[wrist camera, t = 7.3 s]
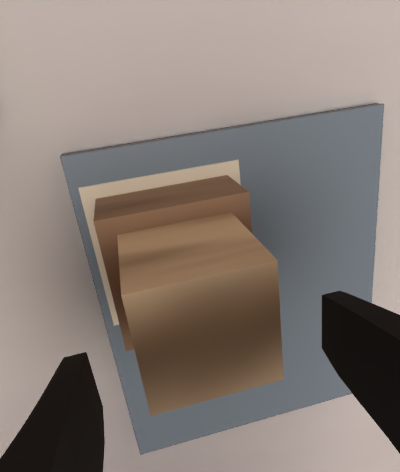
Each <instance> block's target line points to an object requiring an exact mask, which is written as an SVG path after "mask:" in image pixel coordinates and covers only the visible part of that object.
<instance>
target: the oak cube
mask: <svg viewBox="0 0 400 472" xmlns="http://www.w3.org/2000/svg"><path fill="white" fill-rule="evenodd" d="M117 240H118V255H119V270H120V285H121V297H122V301H123V305H124V309H125V313H126V317H127V321H128V325H129V329H130V333H131V338H132V342H133V346H134V350H135V354H136V358H137V362H138V366H139V370H140V374H141V379H142V383H143V387H144V391H145V395H146V399H147V403H148V407H149V411H150V415H151V416H153V415H157V414H161V413H164V412H168V411H171V410H175V409H179V408H182V407H186V406H190V405H193V404H197V403H200V402H204V401H208V400H211V399H215V398H218V397H222V396H226V395H229V394H233V393H237V392H240V391H244V390H247V389H251V388H255V387H258V386H262V385H265V384H269V383H273V382H276V381H280V380H284V375H283V356H282V337H281V318H280V298H279V279H278V260H277V259H276V258H275V257H274V256H273V255H272V254H271V253H270V252H269V251H268V250H267V249H266V248H265V247H264V246H263V245H262V243H261V242H260V241H259V240H258V239H257V238H256V237H255V236H254V235H253V234H252V233H251V232H250V231H249V230H248V229H247V228H246V227H245V226H244V225H243V224H242V223H241V222H240V220H239V219H238V218H237V217H236V216H235V215H234V214H233V213H232V212H230V213H225V214H220V215H215V216H210V217H205V218H200V219H195V220H190V221H185V222H180V223H175V224H170V225H165V226H160V227H155V228H150V229H145V230H140V231H135V232H130V233H125V234H120V235H117Z"/></svg>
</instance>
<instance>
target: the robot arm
mask: <svg viewBox="0 0 400 472" xmlns="http://www.w3.org/2000/svg"><path fill="white" fill-rule="evenodd" d="M322 349H323V351H324V353H325V354H326V356H327V358H328V359H329V361H330V363H331V364H332V366H333V368H334V369H335V371H336V372H337V374H338V376H339V377H340V378H341V380H342V381H343V382H344V383H345V385H346V386H347V387H348V388H349V390H350V391H351V392H352V394H353V395H354V396H355V397H356V399H357V400H358V401H359V402H360V404H361V405H362V406H363V407H364V409H365V410H366V411H367V412H368V413H369V415H370V416H371V417H372V418H373V420H374V421H375V422H376V423H377V425H378V426H379V427H380V428H381V430H382V431H383V432H384V433H385V435H386V436H387V437H388V438H389V440H390V441H391V442H392V444H393V445H394V446H395V448H396V449H397V450H398V452H399V453H400V315H398V314H396V313H393V312H391V311H389V310H386V309H384V308H382V307H379V306H377V305H375V304H372V303H370V302H368V301H365V300H363V299H360V298H358V297H356V296H353V295H351V294H348V293H345V292H342V291H336V292H332V293H328V294H324V295H322ZM104 442H105V441H104V421H103V406H102V403H101V399H100V396H99V393H98V389H97V386H96V383H95V379H94V376H93V373H92V370H91V366H90V363H89V360H88V356H87V353H86V352H85V353H81V354H77V355H73V356H69V357H64V359H63V360H62V361H61V363H60V365H59V366H58V368H57V370H56V372H55V374H54V375H53V377H52V379H51V381H50V382H49V384H48V386H47V388H46V389H45V391H44V393H43V394H42V396H41V398H40V399H39V401H38V403H37V404H36V406H35V408H34V409H33V411H32V412H31V414H30V416H29V417H28V419H27V420H26V422H25V424H24V425H23V427H22V428H21V430H20V431H19V433H18V434H17V435H16V437H15V438H14V440H13V441H12V443H11V444H10V446H9V447H8V449H7V450H6V452H5V453H4V454H3V456H2V457H1V458H0V472H103V460H104Z"/></svg>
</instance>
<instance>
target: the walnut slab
mask: <svg viewBox="0 0 400 472" xmlns="http://www.w3.org/2000/svg"><path fill="white" fill-rule="evenodd" d="M230 212H232V213H233V214H234V215H235V216H236V217H237V218H238V219H239V220H240V222H241V223H242V224H243V225H244V226H245V227H246V228H247V229H248V230H249V231H250V232H251V233H252V224H251V211H250V198H249V191H247V190H246V189H245V188H243V187H242V186H241V185H240V184H238V183H237V182H236V181H234V180H233V179H232V178H231V177H229V176H228V175H224V176H218V177H213V178H207V179H202V180H196V181H191V182H185V183H180V184H174V185H169V186H163V187H158V188H152V189H147V190H141V191H136V192H130V193H125V194H119V195H114V196H108V197H103V198H97V199H96V200H95V210H94V221H93V222H94V226H95V230H96V234H97V238H98V242H99V246H100V250H101V254H102V258H103V261H104V265H105V269H106V273H107V277H108V281H109V285H110V289H111V293H112V297H113V301H114V305H115V309H116V313H117V317H118V321H119V325H120V329H121V333H122V337H123V341H124V345H125V349H126V351H130V350H134V346H133V342H132V338H131V333H130V329H129V325H128V321H127V317H126V313H125V309H124V305H123V301H122V297H121V285H120V270H119V255H118V240H117V235H120V234H125V233H130V232H135V231H140V230H145V229H150V228H155V227H160V226H165V225H170V224H175V223H180V222H185V221H190V220H195V219H200V218H205V217H210V216H215V215H220V214H225V213H230Z"/></svg>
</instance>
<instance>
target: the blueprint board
mask: <svg viewBox="0 0 400 472" xmlns="http://www.w3.org/2000/svg"><path fill="white" fill-rule="evenodd" d="M383 112H384V104H377V103H375V104H369V105H363V106H357V107H351V108H344V109H338V110H332V111H326V112H320V113H314V114H307V115H301V116H295V117H289V118H283V119H277V120H270V121H264V122H258V123H252V124H246V125H239V126H233V127H227V128H221V129H215V130H209V131H202V132H196V133H190V134H184V135H178V136H172V137H165V138H159V139H153V140H147V141H141V142H135V143H128V144H122V145H116V146H110V147H104V148H97V149H91V150H85V151H79V152H73V153H67V154H62V155H61V156H60V158H61V162H62V166H63V169H64V173H65V177H66V180H67V184H68V188H69V192H70V195H71V199H72V203H73V206H74V210H75V214H76V218H77V221H78V225H79V229H80V232H81V236H82V240H83V243H84V247H85V251H86V255H87V258H88V262H89V266H90V269H91V273H92V277H93V281H94V284H95V288H96V292H97V295H98V299H99V303H100V306H101V310H102V314H103V318H104V321H105V325H106V329H107V332H108V336H109V340H110V343H111V347H112V351H113V355H114V358H115V362H116V366H117V369H118V373H119V377H120V381H121V384H122V388H123V392H124V395H125V399H126V403H127V406H128V410H129V414H130V418H131V421H132V425H133V429H134V432H135V436H136V440H137V444H138V447H139V451H140V455H141V454H144V453H148V452H151V451H155V450H158V449H162V448H165V447H169V446H172V445H176V444H179V443H182V442H186V441H189V440H193V439H196V438H200V437H203V436H207V435H210V434H214V433H217V432H221V431H224V430H227V429H231V428H234V427H238V426H241V425H245V424H248V423H252V422H255V421H259V420H262V419H266V418H269V417H272V416H276V415H279V414H283V413H286V412H290V411H293V410H297V409H300V408H304V407H307V406H310V405H314V404H317V403H321V402H324V401H328V400H331V399H335V398H338V397H342V396H345V395H349V394H352V392H351V391H350V390H349V388H348V387H347V386H346V385H345V383H344V382H343V381H342V380H341V378H340V377H339V376H338V374H337V372H336V371H335V369H334V368H333V366H332V364H331V363H330V361H329V359H328V358H327V356H326V354H325V353H324V351H323V349H322V295H324V294H328V293H332V292H336V291H342V292H345V293H348V294H351V295H353V296H356V297H358V298H360V299H363V300H365V301H368V302H370V303H371V302H372V286H373V271H374V255H375V239H376V223H377V207H378V191H379V175H380V159H381V143H382V128H383ZM224 175H228V176H229V177H231V178H232V179H233V180H234V181H236V182H237V183H238V184H240V185H241V186H242V187H243V188H245V189H246V190H247V191H249V198H250V211H251V224H252V234H253V235H254V236H255V237H256V238H257V239H258V240H259V241H260V242H261V243H262V245H263V246H264V247H265V248H266V249H267V250H268V251H269V252H270V253H271V254H272V255H273V256H274V257H275V258H276V259H277V260H278V279H279V298H280V318H281V337H282V356H283V375H284V380H280V381H276V382H273V383H269V384H265V385H262V386H258V387H255V388H251V389H247V390H244V391H240V392H237V393H233V394H229V395H226V396H222V397H218V398H215V399H211V400H208V401H204V402H200V403H197V404H193V405H190V406H186V407H182V408H179V409H175V410H171V411H168V412H164V413H161V414H157V415H153V416H151V415H150V411H149V407H148V403H147V399H146V395H145V391H144V387H143V383H142V379H141V374H140V370H139V366H138V362H137V358H136V354H135V350H130V351H126V349H125V345H124V341H123V337H122V333H121V329H120V325H119V321H118V317H117V313H116V309H115V305H114V301H113V297H112V293H111V289H110V285H109V281H108V277H107V273H106V269H105V265H104V261H103V258H102V254H101V250H100V246H99V242H98V238H97V234H96V230H95V226H94V222H93V221H94V210H95V200H96V199H97V198H103V197H108V196H114V195H119V194H125V193H130V192H136V191H141V190H147V189H152V188H158V187H163V186H169V185H174V184H180V183H185V182H191V181H196V180H202V179H207V178H213V177H218V176H224Z"/></svg>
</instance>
